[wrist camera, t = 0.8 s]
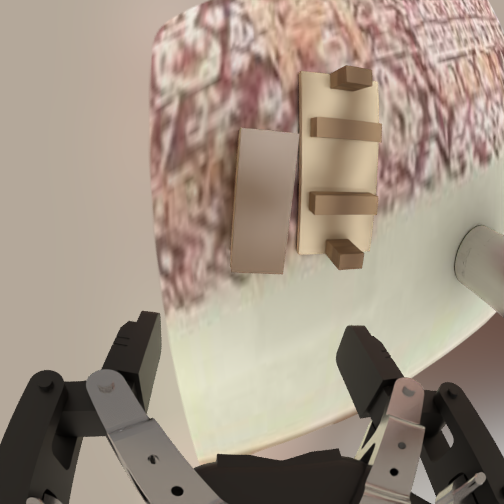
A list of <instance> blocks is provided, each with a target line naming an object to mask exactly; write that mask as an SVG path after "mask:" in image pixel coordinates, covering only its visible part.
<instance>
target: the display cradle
mask: <svg viewBox="0 0 504 504" xmlns="http://www.w3.org/2000/svg"><path fill="white" fill-rule="evenodd" d="M381 138H382V124H380V123H379V98H378V82H376V81H372V70H369V69H364V68H359V67H353V66H347V65H346V66H344V67H342V68H340V69H338V70H337V71H335V72H333V73H331V74H325V73H316V72H305V71H301V72H300V73H299V203H298V233H297V252H298V254H299V255H303V254H324V253H325V254H326V255H327V256H328V257H329V259H330V260H331V261H332V262H333V264H334V265H335V266H336V267H337V268H338V270H346V269H360V268H362V265H363V258H364V253H363V252H364V251H370V244H371V236H372V228H373V219H374V215H377V207H378V196H376V184H377V167H378V142H381Z"/></svg>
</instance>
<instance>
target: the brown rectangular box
mask: <svg viewBox="0 0 504 504" xmlns="http://www.w3.org/2000/svg"><path fill="white" fill-rule="evenodd" d="M298 143H299V134H297V133H289V132H280V131H271V130H261V129H249V128H240V130H239V136H238V148H237V160H236V173H235V187H234V201H233V216H232V231H231V247H230V256H231V262H230V267H231V272H237V273H263V274H283V269H284V261H285V254H286V246H287V239H288V231H289V223H290V215H291V207H292V198H293V189H294V181H295V172H296V162H297V153H298Z"/></svg>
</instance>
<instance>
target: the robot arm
mask: <svg viewBox="0 0 504 504" xmlns="http://www.w3.org/2000/svg"><path fill="white" fill-rule="evenodd" d="M455 272H456V276H457V279H458V280H459V281H460V282H461V283H462V284H464V285H465V286H466V287H467V288H469V289H470V290H471V291H473V292H474V293H475V294H476V295H477V296H479V297H480V298H481V299H482V300H484V301H485V302H486V303H487V304H488V305H490V306H491V307H492V308H493V309H494V310H496V311H497V312H498V313H499V314H500V315H502V316H503V317H504V235H502V234H500V233H498V232H496V231H494V230H492V229H490V228H488V227H486V226H481V225H480V226H477V227H475V228H473V229H472V230H471V231H470V232H469V233H468V234H467V235H466V237H465V238H464V240H463V241H462V243H461V245H460V247H459V250H458V253H457V256H456V262H455ZM160 354H161V321H160V313H156V312H148V311H142V312H141V314H140V316H139V318H138V320H137V322H132V321H128V322H127V323H126V324H125V325H123V326H122V327H121V328H120V330H119V332H118V334H117V337H116V338H115V341H114V343H113V345H112V347H111V349H110V351H109V353H108V356H107V358H106V360H105V362H104V365H103V367H102V369H101V370H98V371H96V372H94V373H92V374H91V375H90V376H89V377H88V379H87V381H78V382H77V381H76V382H64V381H63V378H62V376H61V375H60V374H58V373H57V372H54V371H51V370H44V371H40V372H38V373H36V374H35V375H33V376H32V378H31V379H30V381H29V383H28V385H27V387H26V389H25V391H24V393H23V395H22V397H21V399H20V401H19V403H18V405H17V407H16V409H15V412H14V413H13V416H12V418H11V420H10V423H9V425H8V427H7V429H6V432H5V434H4V437H3V439H2V442H1V444H0V504H69V499H70V494H71V488H72V483H73V478H74V473H75V469H76V464H77V460H78V456H79V452H80V448H81V444H82V440H83V437H90V436H106V438H107V440H108V442H109V443H110V445H111V447H112V449H113V451H114V453H115V454H116V456H117V458H118V460H119V461H120V463H121V465H122V466H123V468H124V470H125V472H126V473H127V475H128V476H129V478H130V480H131V481H132V483H133V485H134V486H135V488H136V489H137V491H138V492H139V494H140V495H141V497H142V498H143V500H144V501H145V502H146V504H431V503H429V502H427V501H425V500H424V499H422V498H420V497H419V496H416V495H415V494H413V493H412V492H411V489H412V486H413V482H414V478H415V474H416V471H417V466H418V462H419V457H420V458H421V460H422V463H423V465H424V467H425V470H426V472H427V475H428V477H429V480H430V482H431V485H432V487H433V489H434V492H435V495H436V501H435V504H504V458H503V456H502V454H501V452H500V450H499V448H498V447H497V445H496V443H495V441H494V440H493V438H492V436H491V435H490V433H489V431H488V430H487V428H486V427H485V425H484V423H483V421H482V420H481V418H480V417H479V415H478V413H477V412H476V410H475V409H474V407H473V406H472V404H471V402H470V401H469V399H468V398H467V397H466V395H465V393H464V392H463V390H462V389H461V388H460V387H459V386H457V385H456V384H454V383H450V382H445V383H443V384H441V386H440V387H439V389H438V390H437V391H430V390H424V389H423V387H422V386H421V384H420V383H419V382H417V381H416V380H414V379H411V378H407V377H404V376H403V375H402V373H401V371H400V370H399V368H398V367H397V365H396V364H395V362H394V361H393V359H392V358H391V356H390V355H389V353H388V352H387V350H386V349H385V347H384V346H383V344H382V343H381V342H380V341H379V340H378V339H376V338H375V337H374V336H371V334H370V333H369V331H368V330H367V328H366V327H365V326H347V327H346V329H345V332H344V335H343V337H342V340H341V343H340V345H339V348H338V351H337V354H336V363H337V366H338V368H339V371H340V373H341V375H342V377H343V380H344V382H345V384H346V387H347V389H348V391H349V393H350V396H351V398H352V400H353V403H354V405H355V407H356V410H357V412H358V414H359V417H360V418H366V417H371V419H372V420H371V422H370V423H369V426H368V428H367V430H366V433H365V435H364V438H363V440H362V443H361V445H360V447H359V450H358V452H357V454H356V456H355V458H354V459H353V458H350V457H344V456H341V454H340V451H339V449H332V450H323V451H314V452H309V453H306V454H303V455H300V456H297V457H294V458H290V459H287V460H283V461H282V460H281V461H280V460H273V459H268V458H262V457H257V456H252V455H227V454H217V460H216V462H212V463H207V464H203V465H201V466H198V467H195V468H194V469H193V468H192V467H191V465H190V464H189V463H188V462H187V461H186V459H185V458H184V457H183V456H182V454H181V453H180V452H179V451H178V449H177V448H176V447H175V445H174V444H173V443H172V441H171V440H170V439H169V437H168V436H167V435H166V433H165V432H164V431H163V429H162V428H161V427H160V425H159V424H158V423H157V421H156V420H155V419H153V418H151V419H150V418H149V417H148V416H147V410H148V405H149V401H150V397H151V392H152V388H153V384H154V379H155V375H156V371H157V367H158V363H159V359H160ZM445 424H447V426H448V428H449V429H450V431H451V433H452V435H453V438H454V443H453V445H452V447H451V448H450V447H449V444H448V442H447V441H446V439H445V437H444V435H443V433H442V431H441V429H442V428H443V427H444V426H445Z"/></svg>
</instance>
